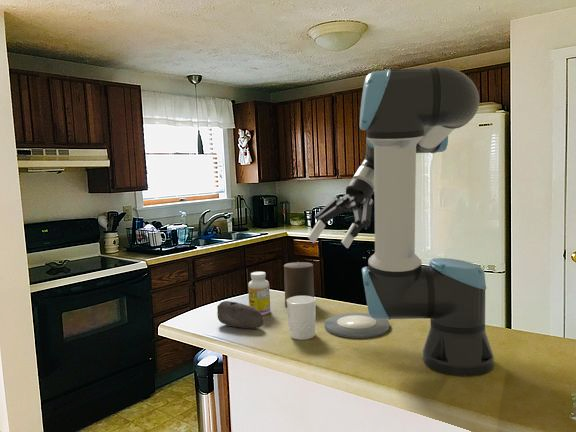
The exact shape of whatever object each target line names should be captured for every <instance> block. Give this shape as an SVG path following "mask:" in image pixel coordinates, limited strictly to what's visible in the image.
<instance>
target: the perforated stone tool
mask: <svg viewBox="0 0 576 432" xmlns="http://www.w3.org/2000/svg"><path fill="white" fill-rule="evenodd" d="M216 308H217V312H216V313H217V314H216V315H217V320H218V321H219V322H220V323H221V324H224V325H226V326H229V327H233V328H241V329H251V330H252V329H254V330H255V329H259V328H261V327H262V326H263V324H264V317H263V315H261V313H260V312H259V311H258V310H256V309H255V308H253V307H250V306H249V305H247V304H245V303H242V302H241V303H240V302H236V301H230V300H229V301H227V300H225V301H221V302H220V303H219V304H218V305H217V307H216Z"/></svg>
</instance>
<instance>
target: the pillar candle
mask: <svg viewBox="0 0 576 432" xmlns="http://www.w3.org/2000/svg"><path fill="white" fill-rule="evenodd" d="M283 268H284V269H283V271H284V274H283V275H284V276H283V277H284V278H283V279H284V306H285V307H286V308H287V299H288V298H290V297H294V296H311V297H314V298H315V285H314V283H315V282H314V281H315V280H314V264H313V263H311V262H304V261H303V262H301V261H300V262H299V261H298V260H297V262H288V263H285V264H284V265H283Z"/></svg>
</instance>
